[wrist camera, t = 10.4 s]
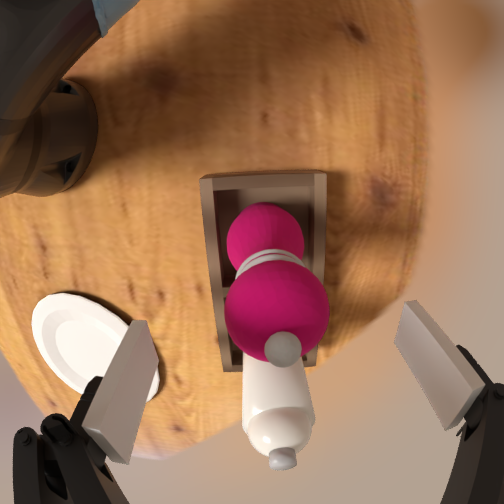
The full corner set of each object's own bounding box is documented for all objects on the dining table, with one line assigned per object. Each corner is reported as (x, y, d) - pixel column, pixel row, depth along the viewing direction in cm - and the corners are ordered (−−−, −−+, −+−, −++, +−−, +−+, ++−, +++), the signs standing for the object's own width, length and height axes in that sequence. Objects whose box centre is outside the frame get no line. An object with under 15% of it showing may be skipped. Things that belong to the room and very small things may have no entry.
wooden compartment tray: (310, 346, 38) (315, 366, 34) (225, 351, 38) (223, 372, 34) (316, 169, 29) (326, 173, 26) (205, 174, 30) (199, 179, 26)
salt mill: (245, 338, 36) (245, 480, 17) (241, 299, 34) (238, 450, 15) (290, 335, 36) (318, 474, 17) (291, 296, 34) (329, 442, 15)
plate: (17, 287, 35) (12, 291, 33) (139, 288, 35) (135, 294, 33) (67, 391, 44) (64, 396, 42) (176, 407, 44) (174, 414, 42)
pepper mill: (308, 236, 31) (381, 363, 12) (255, 272, 32) (265, 422, 14) (270, 183, 29) (313, 258, 10) (215, 223, 30) (171, 348, 12)
